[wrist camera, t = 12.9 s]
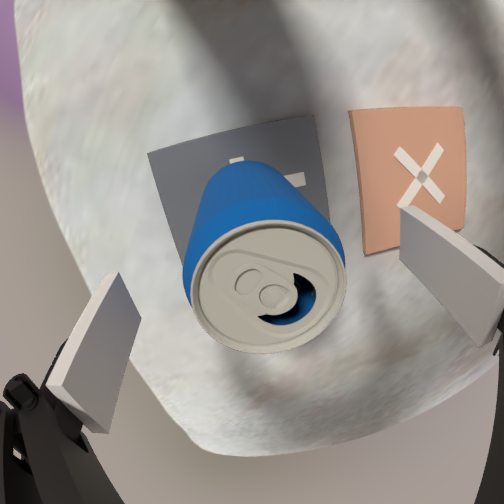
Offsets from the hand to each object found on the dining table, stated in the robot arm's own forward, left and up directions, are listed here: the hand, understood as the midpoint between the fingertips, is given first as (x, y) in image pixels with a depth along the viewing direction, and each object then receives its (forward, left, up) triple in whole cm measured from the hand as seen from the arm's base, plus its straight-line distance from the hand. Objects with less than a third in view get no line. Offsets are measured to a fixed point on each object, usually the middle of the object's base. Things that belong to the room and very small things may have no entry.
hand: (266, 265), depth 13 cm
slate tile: (0, 0, -10) cm, 10 cm away
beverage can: (0, 0, -10) cm, 10 cm away
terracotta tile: (0, +15, -10) cm, 18 cm away
